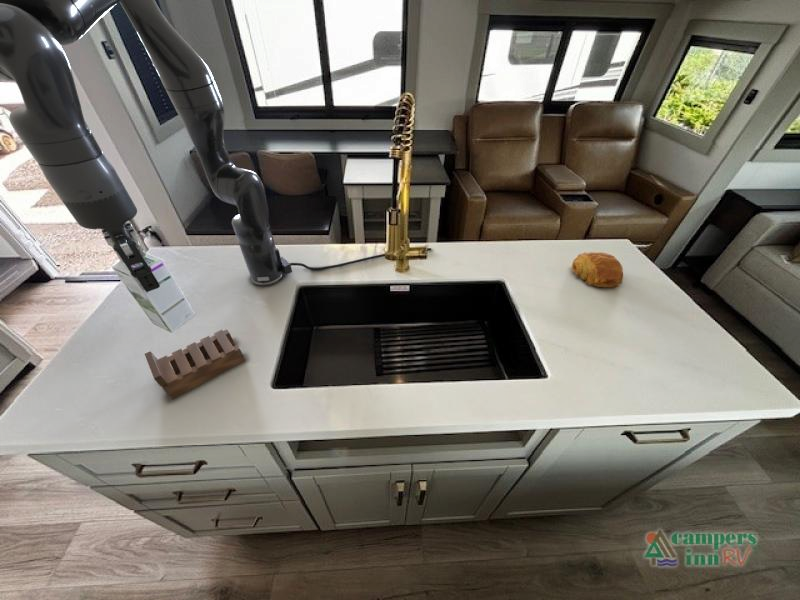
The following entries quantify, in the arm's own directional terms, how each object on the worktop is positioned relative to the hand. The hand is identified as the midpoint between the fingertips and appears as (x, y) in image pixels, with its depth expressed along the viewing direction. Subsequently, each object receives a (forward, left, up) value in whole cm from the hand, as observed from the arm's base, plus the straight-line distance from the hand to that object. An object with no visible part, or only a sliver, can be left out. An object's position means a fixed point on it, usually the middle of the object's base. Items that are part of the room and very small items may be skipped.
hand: (147, 277), depth 58 cm
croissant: (-108, +45, -27) cm, 120 cm away
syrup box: (0, 0, -11) cm, 11 cm away
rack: (0, +1, -27) cm, 27 cm away
